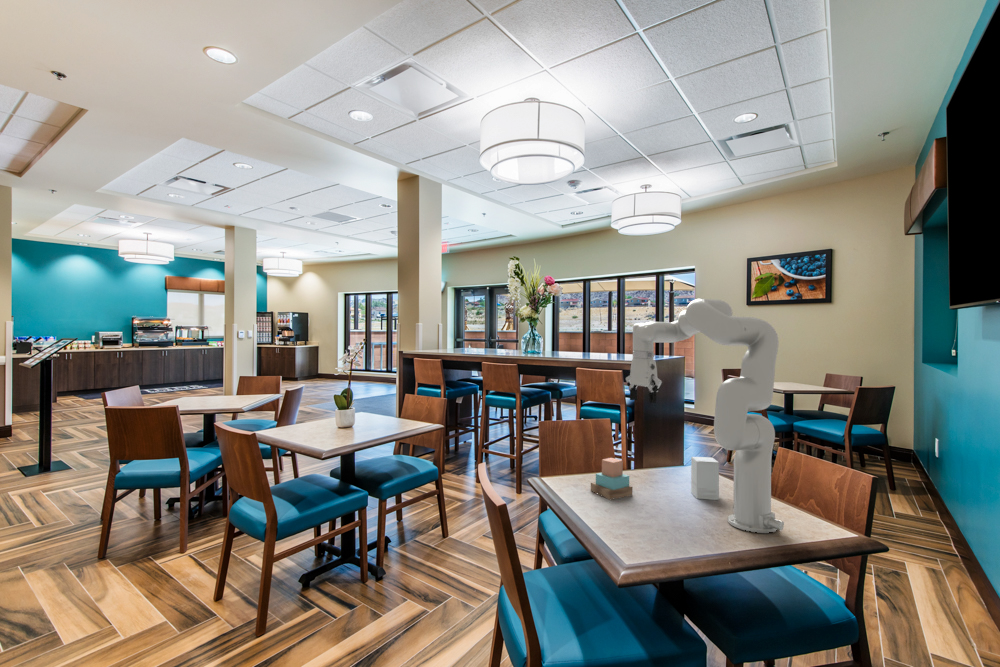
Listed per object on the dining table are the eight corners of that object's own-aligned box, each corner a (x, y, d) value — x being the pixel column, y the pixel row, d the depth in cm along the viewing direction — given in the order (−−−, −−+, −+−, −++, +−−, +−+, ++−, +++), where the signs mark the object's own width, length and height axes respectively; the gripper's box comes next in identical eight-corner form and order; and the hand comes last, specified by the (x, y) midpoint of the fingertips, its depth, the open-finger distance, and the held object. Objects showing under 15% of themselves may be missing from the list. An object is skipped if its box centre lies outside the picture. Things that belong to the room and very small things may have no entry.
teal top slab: (629, 486, 161) (629, 475, 161) (613, 490, 156) (613, 479, 156) (611, 480, 167) (611, 470, 167) (595, 483, 163) (595, 473, 163)
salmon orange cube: (622, 475, 162) (622, 460, 162) (613, 477, 159) (613, 462, 159) (611, 471, 166) (611, 457, 166) (601, 474, 163) (601, 459, 163)
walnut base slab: (632, 497, 160) (632, 486, 160) (609, 501, 155) (610, 490, 155) (612, 489, 169) (612, 479, 169) (590, 492, 164) (590, 482, 164)
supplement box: (719, 500, 156) (719, 462, 156) (696, 498, 157) (696, 461, 157) (713, 493, 163) (713, 457, 164) (690, 492, 164) (690, 456, 165)
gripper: (668, 356, 170) (668, 403, 170) (634, 355, 186) (633, 398, 185) (653, 356, 167) (652, 404, 166) (619, 355, 182) (619, 399, 182)
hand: (642, 401), depth 176 cm, fingers open, 9 cm apart
